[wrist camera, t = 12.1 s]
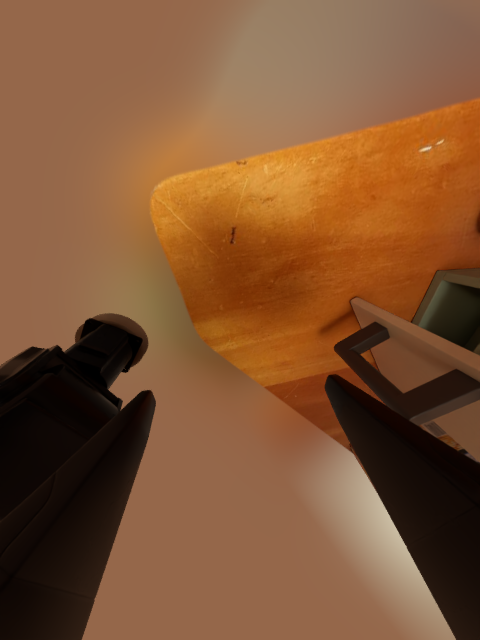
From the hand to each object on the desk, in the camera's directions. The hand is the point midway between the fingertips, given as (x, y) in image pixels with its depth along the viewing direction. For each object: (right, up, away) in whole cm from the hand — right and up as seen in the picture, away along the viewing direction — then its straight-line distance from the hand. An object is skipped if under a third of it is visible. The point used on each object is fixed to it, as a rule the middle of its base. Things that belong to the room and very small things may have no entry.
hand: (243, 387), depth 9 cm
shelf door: (+17, -1, +17) cm, 24 cm away
